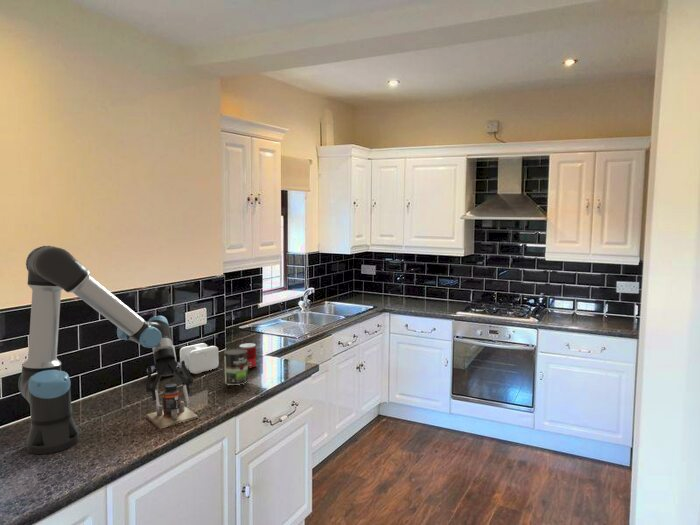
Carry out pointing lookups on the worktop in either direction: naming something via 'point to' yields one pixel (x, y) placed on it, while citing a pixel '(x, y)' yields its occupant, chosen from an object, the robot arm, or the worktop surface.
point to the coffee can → (235, 366)
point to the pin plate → (166, 421)
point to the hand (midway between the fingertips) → (173, 405)
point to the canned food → (250, 353)
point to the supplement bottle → (171, 399)
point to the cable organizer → (199, 357)
